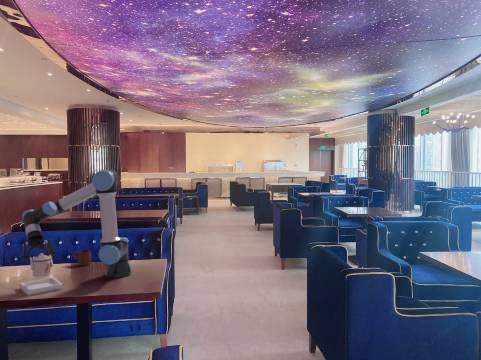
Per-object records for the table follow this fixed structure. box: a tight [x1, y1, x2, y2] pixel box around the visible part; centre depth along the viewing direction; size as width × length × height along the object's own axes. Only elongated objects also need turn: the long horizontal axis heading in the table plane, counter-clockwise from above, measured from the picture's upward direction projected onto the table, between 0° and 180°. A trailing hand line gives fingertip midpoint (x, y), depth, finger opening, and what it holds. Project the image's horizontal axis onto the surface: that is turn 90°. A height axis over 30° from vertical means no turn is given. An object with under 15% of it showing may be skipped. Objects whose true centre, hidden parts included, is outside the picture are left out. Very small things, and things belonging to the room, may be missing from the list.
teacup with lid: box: [32, 252, 52, 278], centre depth 217 cm, size 12×9×12 cm
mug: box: [72, 249, 92, 267], centre depth 271 cm, size 12×8×9 cm, turn 93°
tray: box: [19, 277, 64, 297], centre depth 217 cm, size 17×17×3 cm
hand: (42, 267), depth 214 cm, fingers closed on teacup with lid, 9 cm apart
